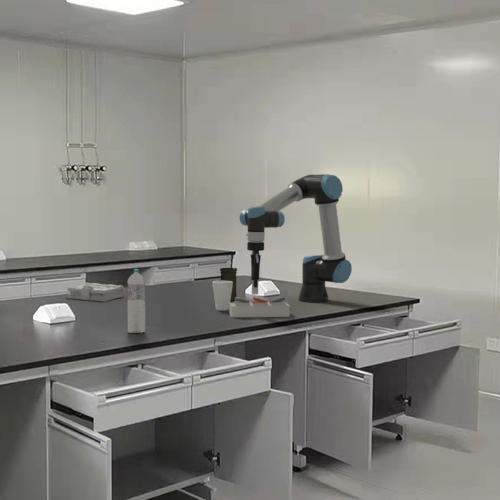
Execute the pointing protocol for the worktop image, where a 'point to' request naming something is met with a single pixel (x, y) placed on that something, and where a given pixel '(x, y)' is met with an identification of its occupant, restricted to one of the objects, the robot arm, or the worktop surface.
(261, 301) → the plate
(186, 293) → the worktop surface
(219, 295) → the foam cup
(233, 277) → the container
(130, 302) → the water bottle
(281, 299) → the rocker
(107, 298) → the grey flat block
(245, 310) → the switch panel
